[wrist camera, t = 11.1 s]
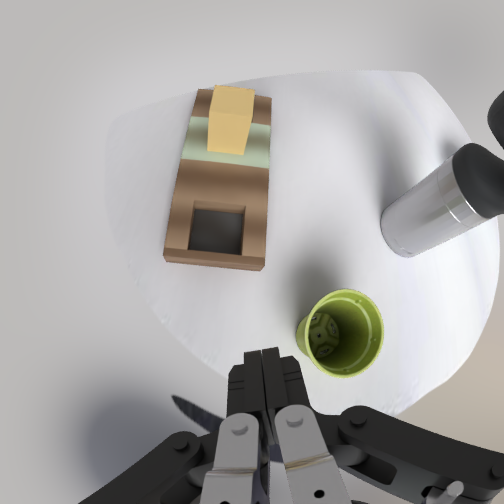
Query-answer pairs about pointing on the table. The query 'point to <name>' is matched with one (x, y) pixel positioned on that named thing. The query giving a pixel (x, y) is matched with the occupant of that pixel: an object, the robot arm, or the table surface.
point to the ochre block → (230, 119)
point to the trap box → (221, 195)
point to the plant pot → (342, 333)
